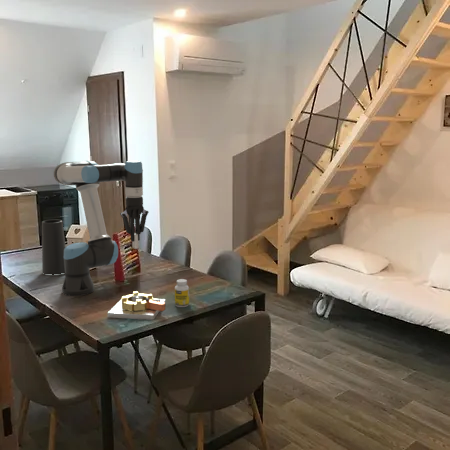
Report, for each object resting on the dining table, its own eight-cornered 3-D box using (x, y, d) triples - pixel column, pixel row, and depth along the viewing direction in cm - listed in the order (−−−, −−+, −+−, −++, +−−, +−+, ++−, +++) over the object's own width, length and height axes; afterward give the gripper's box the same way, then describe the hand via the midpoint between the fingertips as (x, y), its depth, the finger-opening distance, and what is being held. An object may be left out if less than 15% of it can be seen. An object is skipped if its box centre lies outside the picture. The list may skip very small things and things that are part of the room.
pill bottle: (172, 306, 231) (171, 281, 229) (178, 301, 237) (178, 277, 235) (185, 308, 229) (185, 283, 226) (191, 303, 235) (191, 279, 232)
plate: (107, 317, 218) (107, 303, 217) (123, 301, 238) (123, 288, 237) (154, 319, 215) (154, 306, 214) (166, 303, 235) (166, 290, 234)
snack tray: (115, 307, 224) (115, 298, 223) (134, 298, 235) (134, 289, 234) (154, 315, 214) (154, 306, 213) (172, 305, 225) (172, 296, 225)
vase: (73, 271, 286) (70, 220, 280) (53, 277, 275) (50, 224, 269) (57, 267, 293) (53, 218, 287) (37, 273, 282) (33, 221, 276)
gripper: (124, 198, 219) (125, 251, 224) (151, 196, 227) (152, 247, 232) (116, 196, 225) (118, 248, 230) (143, 193, 233) (144, 244, 238)
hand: (135, 247), depth 231 cm, fingers closed
